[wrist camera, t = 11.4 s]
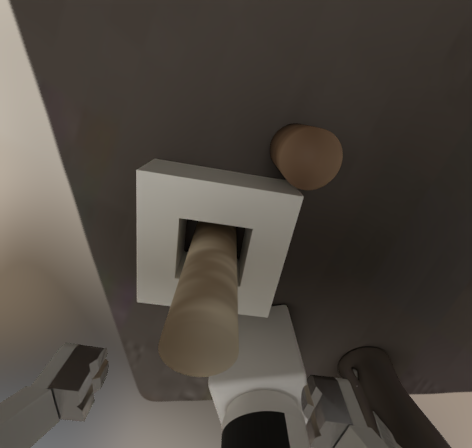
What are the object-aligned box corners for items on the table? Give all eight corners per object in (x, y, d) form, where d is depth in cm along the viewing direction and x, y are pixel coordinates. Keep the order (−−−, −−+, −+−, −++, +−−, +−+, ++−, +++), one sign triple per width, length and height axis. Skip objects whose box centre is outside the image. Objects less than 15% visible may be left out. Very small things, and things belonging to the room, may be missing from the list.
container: (226, 359, 29) (221, 529, 17) (214, 311, 26) (197, 480, 14) (291, 352, 29) (332, 521, 17) (286, 302, 25) (332, 468, 14)
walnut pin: (322, 128, 18) (351, 133, 14) (308, 175, 20) (330, 194, 15) (275, 119, 18) (289, 122, 13) (265, 167, 19) (274, 185, 15)
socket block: (291, 181, 20) (303, 196, 16) (262, 287, 24) (267, 317, 21) (154, 158, 19) (136, 169, 15) (151, 272, 24) (136, 302, 20)
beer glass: (387, 336, 28) (537, 555, 14) (396, 373, 30) (528, 586, 17) (327, 353, 29) (412, 572, 15) (341, 387, 31) (423, 598, 18)
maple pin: (239, 215, 21) (245, 326, 10) (232, 250, 23) (232, 380, 12) (198, 209, 21) (159, 316, 10) (194, 245, 22) (156, 372, 12)
